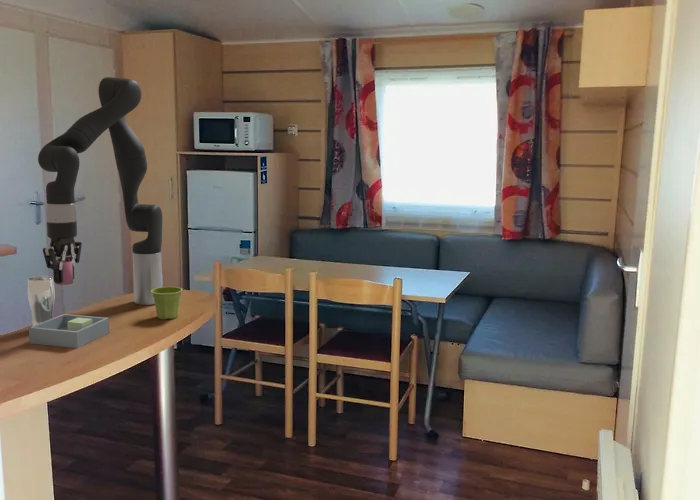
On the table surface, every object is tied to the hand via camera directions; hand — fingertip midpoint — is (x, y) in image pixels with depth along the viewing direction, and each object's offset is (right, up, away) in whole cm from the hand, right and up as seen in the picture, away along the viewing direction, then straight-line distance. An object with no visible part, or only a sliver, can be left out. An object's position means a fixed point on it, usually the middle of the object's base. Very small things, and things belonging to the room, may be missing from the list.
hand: (64, 280), depth 180 cm
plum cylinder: (0, -1, 0) cm, 1 cm away
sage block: (+5, -15, -1) cm, 16 cm away
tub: (+2, -16, 0) cm, 16 cm away
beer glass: (-10, -14, +8) cm, 19 cm away
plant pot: (+22, -13, +23) cm, 34 cm away
